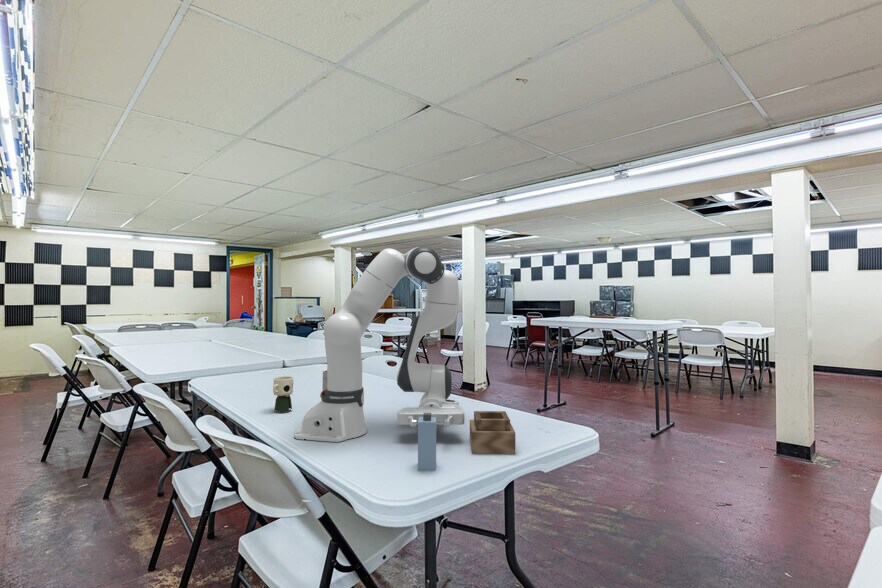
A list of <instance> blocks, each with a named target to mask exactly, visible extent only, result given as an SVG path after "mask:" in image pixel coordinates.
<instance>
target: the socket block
mask: <svg viewBox="0 0 882 588" xmlns="http://www.w3.org/2000/svg"><path fill="white" fill-rule="evenodd" d="M469 443H470V449H471V450H470V451H471V455H516V431H515V429H514V427H513V425H512V424H511V419H510V417H509V415H508V413H507V412H506V411H505V410H504V411H501V410H498V411H495V410H494V411H493V410H490V411H489V410H486V411H485V410H480V411H479V410H474V411H473V419H469Z"/></svg>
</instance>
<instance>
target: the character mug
mask: <svg viewBox="0 0 882 588" xmlns="http://www.w3.org/2000/svg"><path fill="white" fill-rule="evenodd" d="M272 393H273V395H274V396H276V398H275V404H274V411H275V412H279V413H280V412H281V413H286V412H285V411H287V412H290V410H291V409H292V410H293V405H292V404H293V403H292V398H291V395H292V394H293V393H294V376H290V375H283V376H275V377H274V378H273V389H272Z"/></svg>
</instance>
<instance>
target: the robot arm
mask: <svg viewBox="0 0 882 588" xmlns="http://www.w3.org/2000/svg"><path fill="white" fill-rule="evenodd" d="M442 262H443V261H442V260H441V258H440V256H439V254H438V253H437V251H436V250H434V248H431V247H429V246H424V245H423V246H416V247H413V248H412V249H410V250H408V251H407V252H404V253H401V252H400V251H399V250H396V249H394V248H384V249H383V250H381V251H380V252H379V253H378V254H377V255H376V256H375V257H374V259H372V261H371V262H369V264H368V266H367V267H366V269H365V270H364V271H363V272H362V274H361V276H360V277H359V278H358V279H357V281H356V283H355V284H354V285H353V287H352V288H351V290H350V292H349V294H348V296H346V297H347V298H346V299H345V300H344V302H343V304H342V306H341V307H340V309H339V311H338V312H337V313H336V312H335V313H334V314H332V315H330V316H329V317H328V318H327V320H326V321H325V323H324V327H323V334H324V337H323V338H324V347H325V356H326V363H327V365H326V366H327V368H326V369H327V370H326V371H327V387H326V388H325V389H322V390H323V391H320V393H319V395H320V396H319V398H320V399H321V400H320V401H319V402H318V403H317V404H315V405H314V406H313V407H312V408H310V409H309V410H308V411H307V412H306V413H305V415H304V416H303V418H302V423H301V426H299V427H298V428H297V429H295V431H294V435H293V438H294V437H295V438H296V439H295V438H294V439H295V440H304V439H306V440H305V441H316V442H318V441H319V442H331V443H333V442H334V443H340V442H343V441H347V440H348V439H349V440H350V439H353V438H354V439H355V438H357V437H361V436H363V435H366V433H367V432H368V427H367V425H366V421H365V420H366V419H365V414H364V404H365V391H364V389H365V388H364V386H363V361H362V360H363V358H362V345H361V338H362V337H363V335H364V334H365V332H366V330H368V328H369V326H370V325H371V323H372V321H373V320H374V318H375V317H376V315H377V314H378V312H379V310H380V309H381V307H383V305H384V303H385V302H386V300H387V299H388V297H389V296H390V295H391V294H392V292H393V290H394V289H395V287H396V286H397V284H398V282H400V281H401V279H402V278H404V277H410V278H412V279H414V280H417V281H422V282H423V284H425V287H426V296H425V304H424V308H423V309H422V312H421V313H420V314H418V315H417V316H415V318H414V320H413V322H412V325H411V328H410V330H409V331H410V332H409V336H408V339H407V342H406V346H405V350H404V354H403V357H402V360H401V361H402V362H401V363H400V366H399V368H398V371H397V375H396V382H397V383H396V384H397V386H398V387H399V388H400V389H401V391H402V392H404V393H415V392H416V393H423V395H422V396H421V399H420V401H419V405H418V406H417V407H416V406H410V407H409V406H408V407H407V406H406V407H402V408H401V409H399V410H398V412H397V415H396V416H397V419H396V420H397V421H396V422H397V424H398V425H400V426H410V427H411V428H412V427H413V428H414V427H417V426H418V420H419V417H423V414H424V413H431V417H436V426H438V425H439V426H440V425H441V426H442V425H443V427H450V426H451V425H453V426H455V425H456V426H457V425H458V426H459V425H460V426H461V425H465V411H464V408H463V407H462V406H461V405H460V401H458V400H453V399H449V397H450V396H451V394H452V385H453V384H452V383H453V382H452V372H451V370H450V368H449V367H448V366H446V365H444V364H436V363H432V364H431V363H424V362H423V363H422V362H421V363H419V362H417V361H416V356H417V352H418V348H419V344H420V341H421V339H422V338H423V337H424V336H425V335H427V334H430V333H432V332H437V331H440V330H443V329H445V328H448V327H450V325H452V324H453V323H454V322H455V320H456V318H457V315H458V314H457V313H458V309H459V300H460V298H459V297H460V295H459V294H460V289H459V278H458V276H457V274H456V273H455V272H453V271H452V270H448V269H445V267H444V265H443V263H442Z"/></svg>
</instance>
